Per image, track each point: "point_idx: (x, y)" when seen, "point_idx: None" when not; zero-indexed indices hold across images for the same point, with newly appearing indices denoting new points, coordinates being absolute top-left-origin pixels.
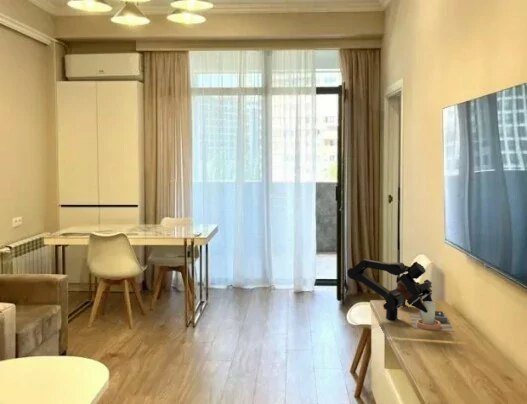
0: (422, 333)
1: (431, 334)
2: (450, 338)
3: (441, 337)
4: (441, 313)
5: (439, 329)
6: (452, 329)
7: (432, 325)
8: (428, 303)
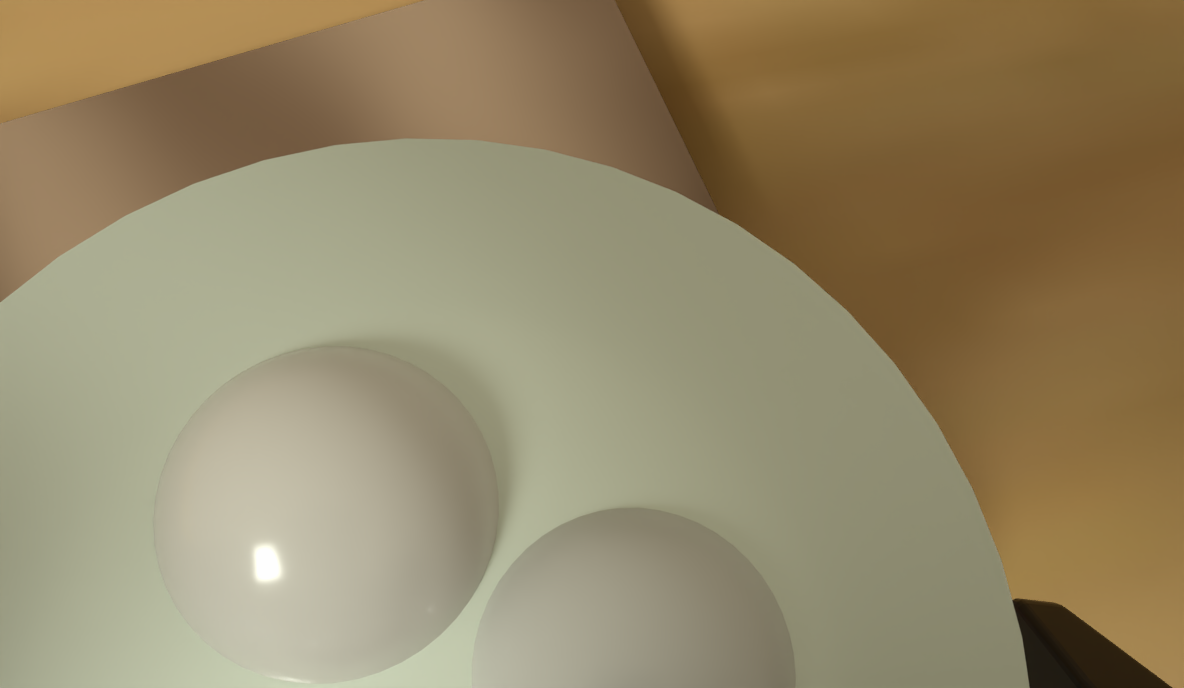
0: None
1: (987, 441)
2: (972, 10)
3: (1043, 183)
4: None
5: None
6: (413, 28)
7: None
8: (797, 657)
